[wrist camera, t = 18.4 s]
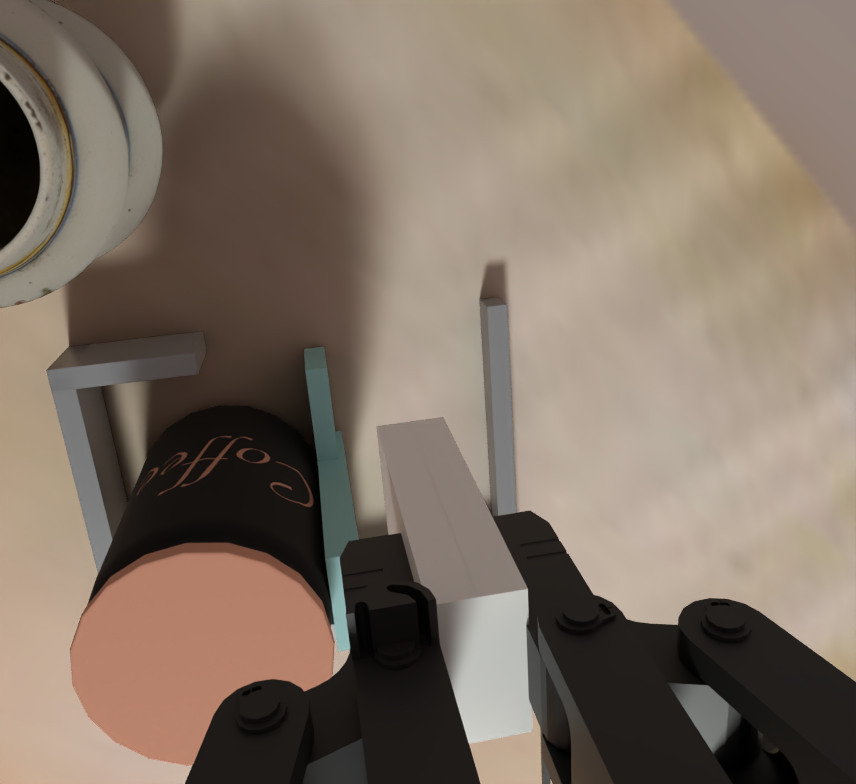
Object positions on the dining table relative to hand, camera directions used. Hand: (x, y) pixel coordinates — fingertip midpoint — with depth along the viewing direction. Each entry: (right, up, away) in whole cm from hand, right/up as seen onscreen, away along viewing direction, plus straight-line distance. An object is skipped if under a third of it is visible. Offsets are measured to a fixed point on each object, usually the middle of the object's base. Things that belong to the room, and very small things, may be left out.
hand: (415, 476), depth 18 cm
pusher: (-6, -3, +32) cm, 33 cm away
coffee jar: (-12, -3, +32) cm, 34 cm away
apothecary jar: (-19, +15, +24) cm, 34 cm away
